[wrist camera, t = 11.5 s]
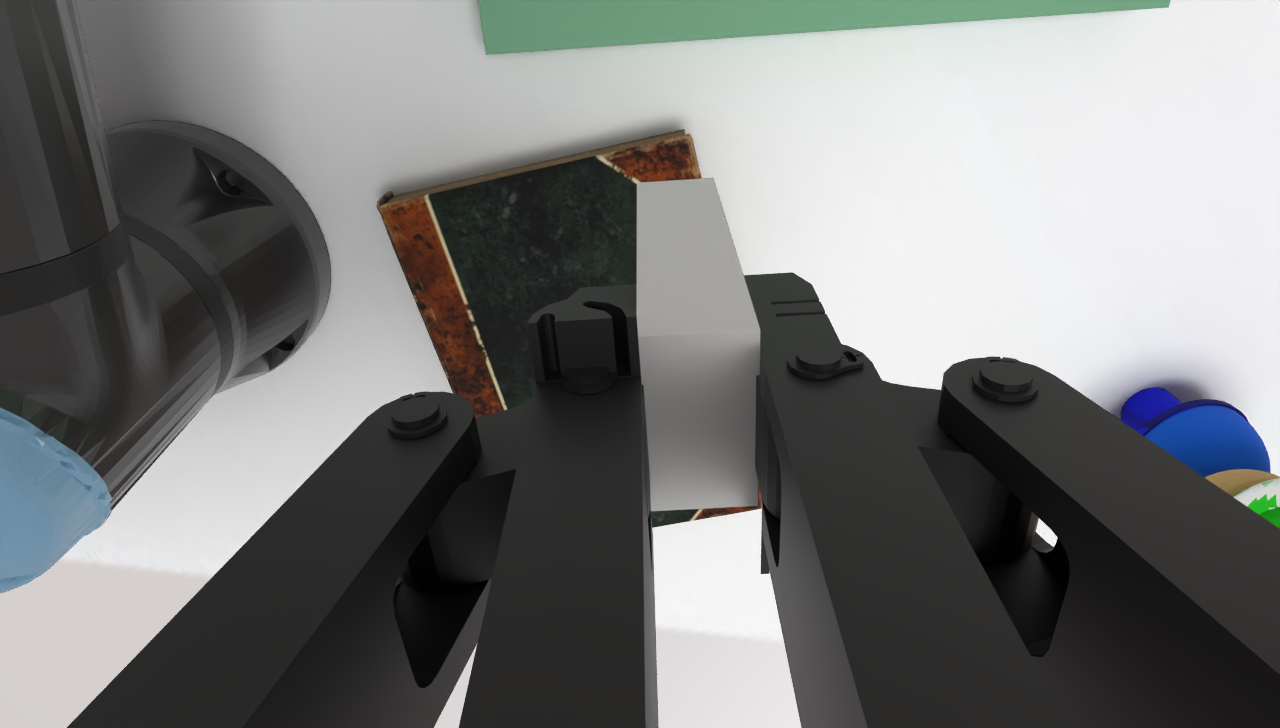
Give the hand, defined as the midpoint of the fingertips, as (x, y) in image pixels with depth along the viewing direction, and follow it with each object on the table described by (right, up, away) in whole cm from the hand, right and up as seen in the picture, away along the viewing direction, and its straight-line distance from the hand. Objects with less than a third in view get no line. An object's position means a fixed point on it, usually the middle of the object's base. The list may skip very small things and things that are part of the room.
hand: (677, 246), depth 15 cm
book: (-4, -1, +33) cm, 33 cm away
